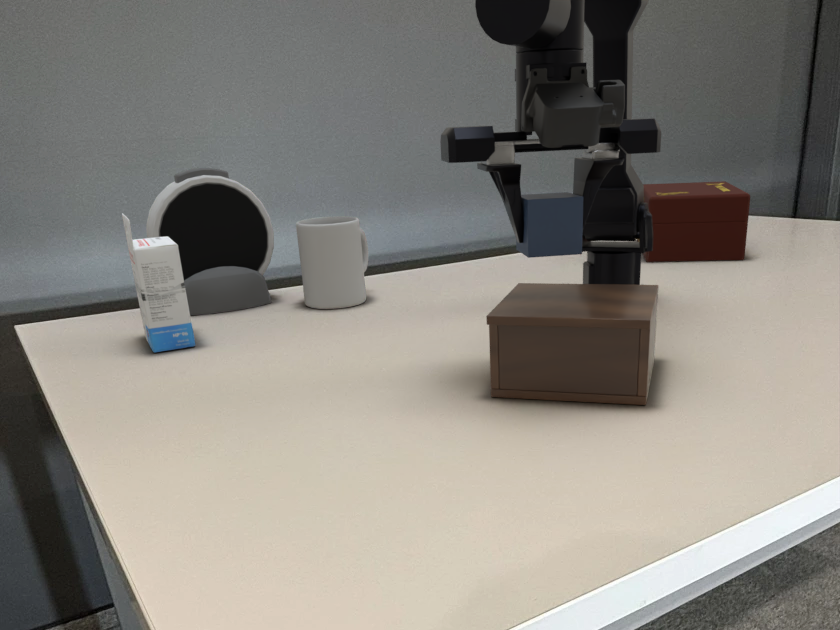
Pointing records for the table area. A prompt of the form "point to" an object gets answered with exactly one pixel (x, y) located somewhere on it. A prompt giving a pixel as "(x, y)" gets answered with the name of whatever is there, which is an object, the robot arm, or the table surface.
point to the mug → (332, 261)
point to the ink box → (160, 291)
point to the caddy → (572, 363)
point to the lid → (577, 306)
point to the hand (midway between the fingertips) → (548, 240)
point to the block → (551, 224)
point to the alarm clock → (216, 239)
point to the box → (697, 221)
